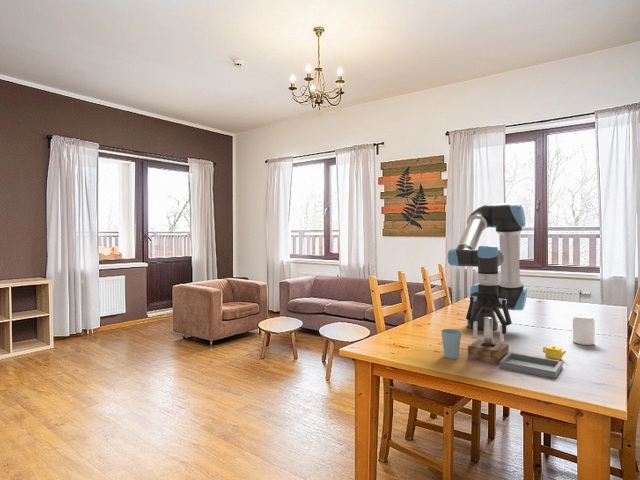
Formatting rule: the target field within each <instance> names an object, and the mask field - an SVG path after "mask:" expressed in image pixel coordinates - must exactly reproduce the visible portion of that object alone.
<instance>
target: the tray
mask: <svg viewBox="0 0 640 480" xmlns="http://www.w3.org/2000/svg"><path fill="white" fill-rule="evenodd" d="M499 368H500V369H504V370H509V371H513V372H514V371H515V372H519V373H525V374H529V375H530V374H531V375H536V376H540V377H545V378H549V379H550V378H551V379H554V380H556V379H557V377H558V376H559V374H560V372H561V371H562V369H563V368H564V367H563V360H555V359H548V358H546V357H541V356H535V355H529V354H523V353H522V354H521V353H517V352H512V351H511V352H510V351H509V353H508V354H507V355H506V356H505V357H504V358H503V359H502V360H501V361H500V364H499Z"/></svg>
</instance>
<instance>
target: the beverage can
mask: <svg viewBox="0 0 640 480" xmlns="http://www.w3.org/2000/svg"><path fill="white" fill-rule="evenodd" d="M595 321H596V320H595V319H594V317H593V316H590V315H585V314H575V315H573V317H572V342H574V343H575V344H577V345H581V346H592V345H594V344H596V343H595V340H596V339H595V330H596V329H595V327H596V326H595Z"/></svg>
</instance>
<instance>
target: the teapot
mask: <svg viewBox="0 0 640 480" xmlns="http://www.w3.org/2000/svg"><path fill="white" fill-rule="evenodd" d="M566 352H567V351H566V350H564V351H563V348H562V347H558V346H555V345H548V346H543V347H542V353H544V354H545V358H546V359H552V360H558V361H561V359H563V356H564V354H566Z"/></svg>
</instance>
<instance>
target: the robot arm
mask: <svg viewBox="0 0 640 480" xmlns="http://www.w3.org/2000/svg"><path fill="white" fill-rule="evenodd" d="M525 226H526V217H525V212H524V208H523V206H522V204H520V203H518V202H517V203H515V202H507V203H505V202H504V203H494V204H493V203H490V204H489V203H488V204H484V205H482V206H481V205H480V207H478V208H476V209H475V210H474V211H473V212H471V213H470V215H469V216H468V218H467V220H466V226H465V229H464V232H463V233H462V236H461V238H460V240H459V243H458V245H457V246H456V248H451V249H449V250H448V251H447V258H446V259H447V263H448V264H449V265H450V266H452V267H474V268H476V267H477V283H474V284H471V286H470V293H469V294H470V297H469V305H468V310H467V313H466V317H465V319H466V320H467V321H466V323H467V324H466V325H467V327H468V328H470V329H471V330H473V331H472V332H473V333H472V336H473V339H478V331H479V330H480V331H484V317H492V318H493V331H495V330H498V329H499V343H504V342H505V338H504V337H505V335H506V334H507V326H510V325H511V324H513V323H512V320H511V319H512V318H511V315H510V311H522V310H524V309H525V306H526V302H527V295H528V287H524V283H523V282H522V281H521V272H520V270H521V269H520V246H519V244H520V243H519V241H520V240H519V237H520V236H519V234H520V233H521V232H522V230H523V228H524V227H525ZM487 228H495V232H496V233H497V234H498V235H499V237H498V238H499V247H498V246H497V245H490V244H489V245H479V246H478V247H477V245H478V244H479V240H480V238H481V235H482V234H483V232H484V231H485V230H486V229H487ZM476 248H477V249H476ZM499 267H500V280H499ZM501 310H502V311H503V314H502V312H501ZM503 315H504V316H503ZM496 316H497V317H496ZM497 319H498V320H497ZM498 321H499V322H500V325H499V323H498Z"/></svg>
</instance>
